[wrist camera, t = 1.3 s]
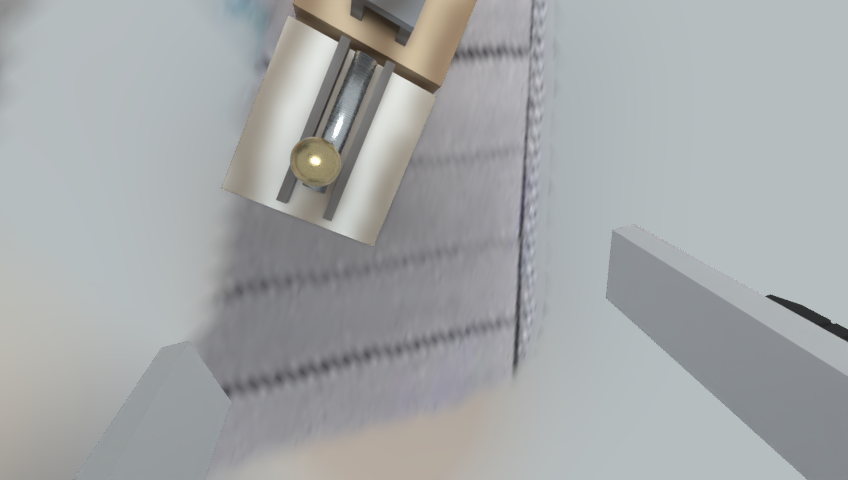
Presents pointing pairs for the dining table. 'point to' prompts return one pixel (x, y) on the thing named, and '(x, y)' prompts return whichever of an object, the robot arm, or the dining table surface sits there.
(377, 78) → the door and jamb
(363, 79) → the bolt
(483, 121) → the dining table surface
